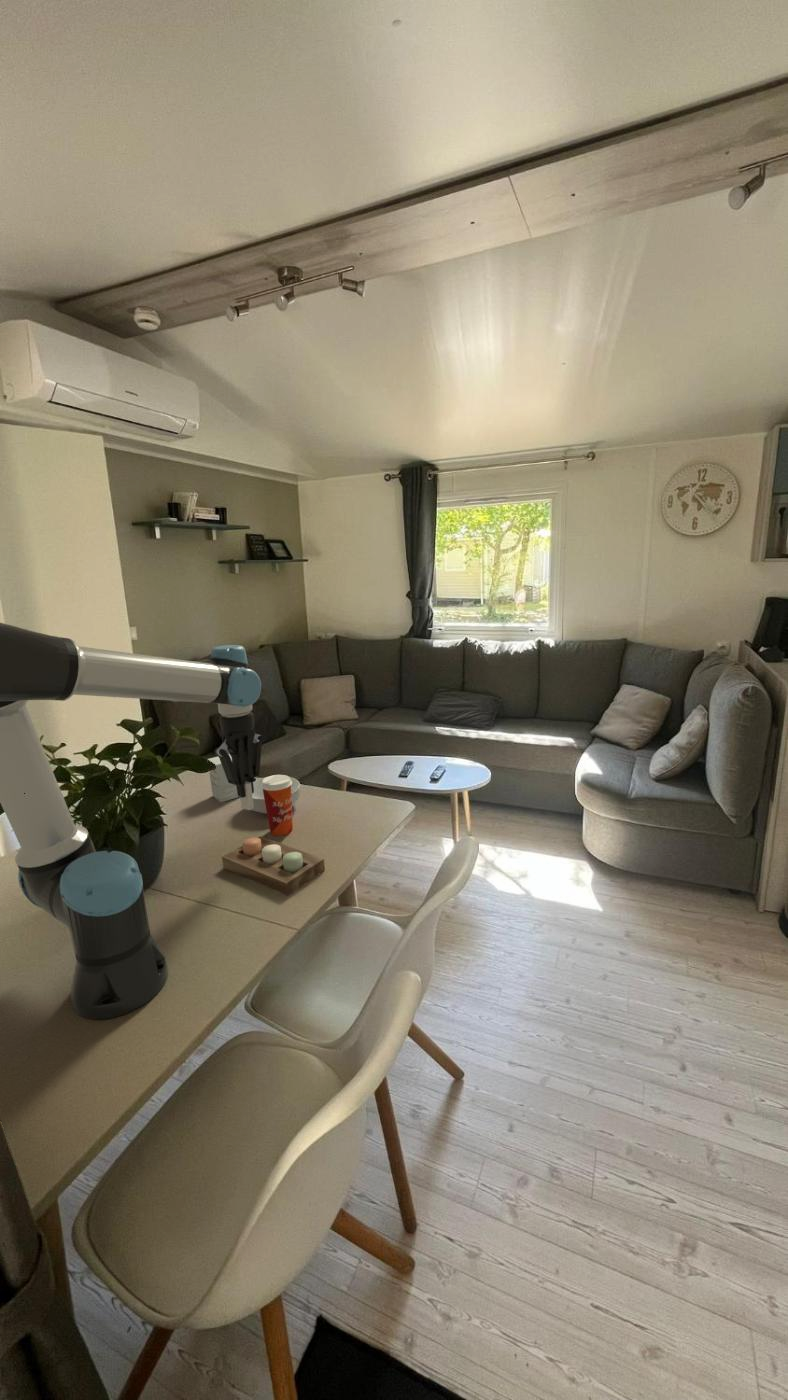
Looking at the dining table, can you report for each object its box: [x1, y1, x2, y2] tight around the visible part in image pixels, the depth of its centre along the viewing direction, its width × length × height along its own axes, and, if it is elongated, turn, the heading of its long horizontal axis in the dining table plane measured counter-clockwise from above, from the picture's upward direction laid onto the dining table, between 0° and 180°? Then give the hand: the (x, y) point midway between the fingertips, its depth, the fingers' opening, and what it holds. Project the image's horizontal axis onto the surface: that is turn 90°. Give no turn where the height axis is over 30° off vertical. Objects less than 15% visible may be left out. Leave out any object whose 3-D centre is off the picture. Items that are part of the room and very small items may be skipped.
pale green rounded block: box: [283, 852, 303, 874], centre depth 129 cm, size 4×4×4 cm
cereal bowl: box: [250, 776, 301, 815], centre depth 167 cm, size 17×17×7 cm
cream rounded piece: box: [262, 844, 282, 865], centre depth 133 cm, size 4×4×4 cm
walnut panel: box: [221, 836, 326, 896], centre depth 134 cm, size 12×22×3 cm, turn 54°
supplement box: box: [207, 753, 239, 803], centre depth 177 cm, size 7×7×13 cm
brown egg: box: [241, 836, 262, 857], centre depth 137 cm, size 4×4×4 cm
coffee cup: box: [261, 774, 293, 837], centre depth 151 cm, size 8×8×15 cm
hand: (247, 807), depth 135 cm, fingers closed
